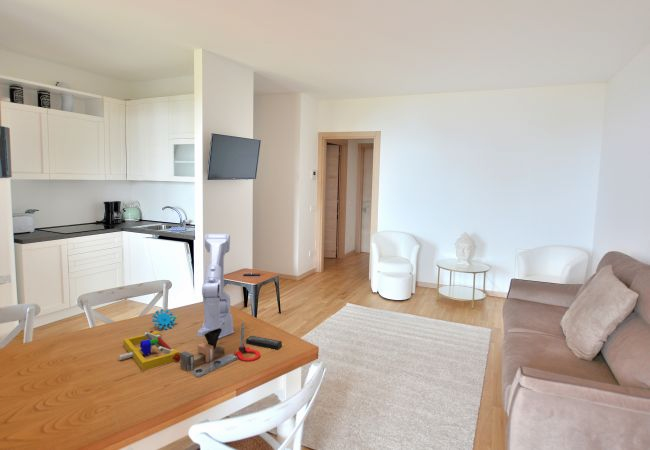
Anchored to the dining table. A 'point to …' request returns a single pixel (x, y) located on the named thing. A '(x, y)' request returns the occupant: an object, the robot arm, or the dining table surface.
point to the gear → (164, 319)
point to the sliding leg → (206, 351)
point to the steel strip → (214, 365)
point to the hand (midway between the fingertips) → (212, 348)
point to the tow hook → (245, 349)
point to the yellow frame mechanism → (149, 350)
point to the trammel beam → (196, 358)
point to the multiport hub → (264, 342)
